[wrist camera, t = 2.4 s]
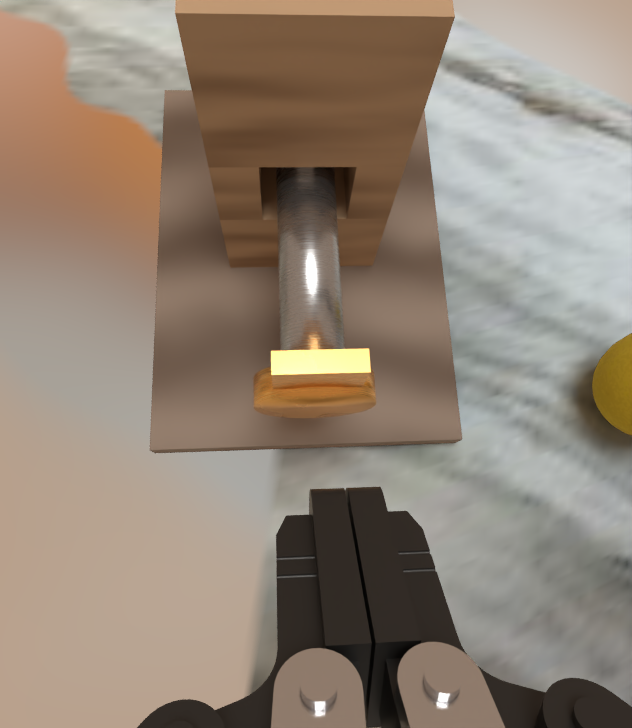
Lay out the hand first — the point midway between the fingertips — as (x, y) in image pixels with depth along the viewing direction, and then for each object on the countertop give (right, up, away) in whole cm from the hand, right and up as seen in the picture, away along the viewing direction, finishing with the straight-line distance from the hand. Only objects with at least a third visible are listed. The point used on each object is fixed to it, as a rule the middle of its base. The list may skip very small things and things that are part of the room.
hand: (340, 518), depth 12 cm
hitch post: (-1, +9, +21) cm, 23 cm away
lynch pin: (-1, +7, +14) cm, 16 cm away
